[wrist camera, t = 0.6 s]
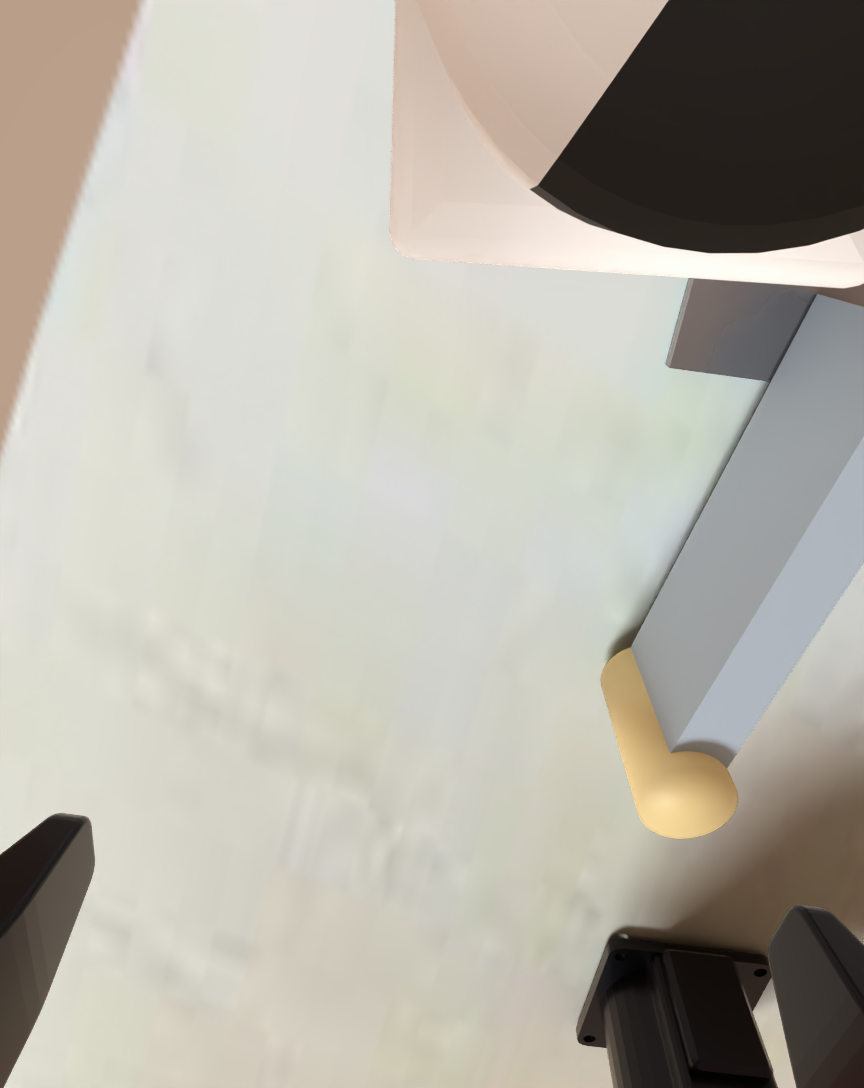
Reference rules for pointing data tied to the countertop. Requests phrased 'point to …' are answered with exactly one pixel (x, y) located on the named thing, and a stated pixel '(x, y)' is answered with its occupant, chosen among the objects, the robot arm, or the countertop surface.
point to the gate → (748, 583)
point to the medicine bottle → (632, 137)
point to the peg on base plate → (743, 325)
